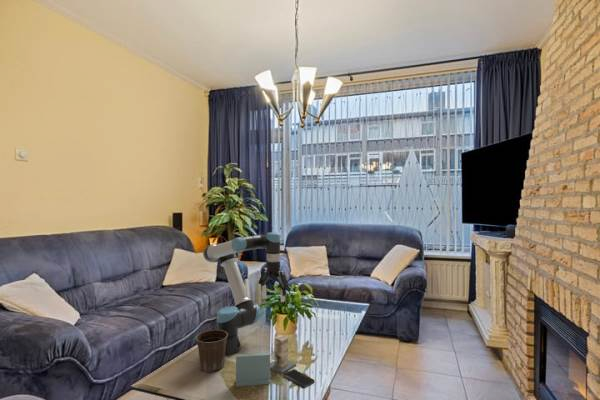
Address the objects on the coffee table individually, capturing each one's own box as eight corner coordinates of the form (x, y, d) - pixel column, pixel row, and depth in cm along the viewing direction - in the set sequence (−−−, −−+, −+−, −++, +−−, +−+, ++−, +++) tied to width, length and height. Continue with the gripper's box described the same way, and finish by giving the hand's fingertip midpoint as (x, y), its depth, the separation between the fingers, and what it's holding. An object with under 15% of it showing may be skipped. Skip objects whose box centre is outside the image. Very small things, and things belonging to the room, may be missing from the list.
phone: (303, 386, 158) (282, 374, 169) (303, 389, 158) (282, 376, 169) (315, 380, 164) (294, 368, 174) (315, 382, 164) (294, 370, 175)
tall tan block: (274, 365, 178) (274, 338, 177) (280, 361, 182) (280, 335, 182) (281, 368, 175) (281, 340, 174) (288, 364, 179) (288, 337, 179)
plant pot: (190, 373, 171) (190, 341, 171) (203, 358, 187) (203, 328, 187) (221, 375, 169) (221, 343, 169) (232, 360, 185) (232, 330, 185)
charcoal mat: (266, 367, 177) (266, 365, 177) (279, 359, 186) (279, 357, 186) (282, 374, 171) (282, 372, 171) (296, 365, 179) (296, 363, 179)
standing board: (236, 380, 165) (236, 353, 165) (269, 378, 167) (269, 351, 167) (235, 386, 160) (235, 358, 160) (270, 383, 162) (270, 356, 162)
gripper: (252, 259, 193) (252, 296, 193) (286, 264, 178) (286, 305, 178) (261, 257, 199) (261, 293, 199) (295, 262, 184) (295, 301, 185)
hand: (273, 299), depth 189 cm, fingers open, 13 cm apart
